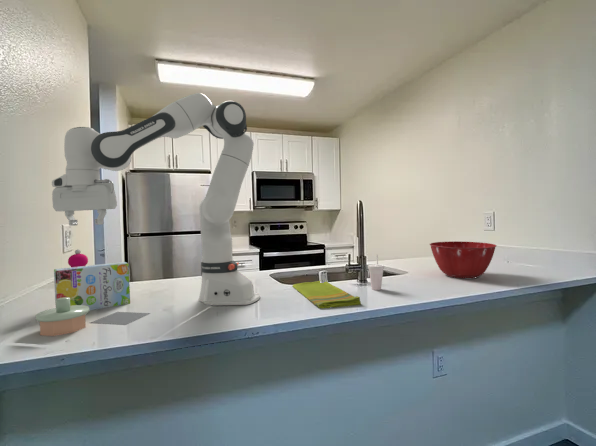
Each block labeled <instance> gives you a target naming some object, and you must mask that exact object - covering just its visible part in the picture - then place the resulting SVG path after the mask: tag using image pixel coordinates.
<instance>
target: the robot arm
mask: <svg viewBox="0 0 596 446" xmlns="http://www.w3.org/2000/svg"><path fill="white" fill-rule="evenodd" d="M201 127H203V128H204V129H205V130H206V131H208V132H209V133H210V135H212V136H213V137H215V138H216V139H222V140H223V148H222V151H221V153H220V156H219V158H218V161H217V163H216V165H215V169H214V171H213V174H212V176H211V180H210V183H209V185H208V189H207V191H206V194H205V197H204V198H203V200H202V201H201V202H200V204H199V224H200V239H201V262H200V274H201V275H200V276H201V283H200V284H201V285H200V292H199V297H198V302H202V303H203V305H208V306H209V305H211V306H247V305H251V304H254V303H255V302H257V301H258V300H260V298H261V294H260V293H257V292H255V288H254V283H253V282H252V280H251V279H250V278H249V277H247V276H246V275H244V274H243V273H241V271H239V270H238V267H239V264H240V262H236V261H234V258H233V257H234V256H233V238H232V233H231V230H232V229H231V223H230V220H231V218H232V217H233V215H234V212H235V209H236V205H237V202H238V199H239V196H240V191H241V189H242V185H243V182H244V179H245V176H246V174H247V171H248V168H249V166H250V163H251V159H252V156H253V150H254V145H255V143H254V140H253V139H252V138H251V136H250V135H249V134H247V133H246V132H247V131H248V125H247V114H246V110H245V109H244V107H243V105H242V104H241V103H239V102H237V101H233V100H225V101H224V102H221V103H220V104H219V105H215V104H213V103H212V102H211V100H210V99H209V98H208V97H207V96H206V95H205V94H203V93H201V92H197V93H193V94H189V95H187V96H185V97H181V98H179V99H176V100H175V101H173V102H171V103H169V104H167V105H166V106H164V107H163V108H161V109H160V110H159V111H158V112H156V113H155V114H153V115H152V116H150V117H148V118H146V119H144V120H142V121H139V122H138V123H136V124H134V125H132V126H129V127H128V128H125V129H122V130H118V131H117V130H116V131H106V132H102V133H100V132H98V131H96V130H95V129H94V128H92V127H89V126H76V127H73V128H70V129H69V130H67V131H66V133H65V134H64V146H63V147H64V158H65V161H66V167H65V174H62V175H61V176H59V177H57V178H54V179H53V180H51V185H52V188H53V190H52V194H51V195H52V197H51V198H52V207H53V209H54V211H55V212H64V216H65V217H66V219H67V220H68V225H69V226H70V227H71V226H75V227H76V226H78V219H76V218H75V216H74V215H75V212H80V211H96V213H97V214H98V216H97V218H95V219H94V221H95V222H94V224H95V225H96V226H98V225H99V226H100V225H104V223H105V222H104V218H105V217H106V215H107V210H115V209H116V208H117V206H118V201H117V196H116V191H115V185H114V182H113V181H111V180H110V179H108V178H105V179H104V178H103V179H101V175H100V173H101V172H100V169H103V170H108V171H111V172H112V171H113V172H120V171H123V170H125V169H127V168H128V167H129V166H130V165H131V163H132V154H133V153H134V152H135V151H137V150H138V149H141V148H142V147H144V146H146V145H148V144H150V143H151V142H153V141H156V140H157V139H161V138H169V139H178V138H181V137H184V136H186V135H188V134H189V135H190V134H191V133H192V132H193V131H195V130H197V129H198V128H201Z"/></svg>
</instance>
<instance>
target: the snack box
mask: <svg viewBox="0 0 596 446" xmlns="http://www.w3.org/2000/svg"><path fill="white" fill-rule="evenodd" d="M129 266H130V265H129V262H126V261H123V262H121V261H119V262H112V263H101V264H89V265H86V266H80V267H71V266H70V267H63V268H62V267H61V268H54V269H53V278H54V279H53V280H54V300H55V306H56V299H58V298H63V297H70V306H72V305H85V306H88V307H89V311H93V310H98V309H105V308H111V307H115V306H116V307H117V306H123V305H129V304H131V291H130V290H131V287H130V267H129Z"/></svg>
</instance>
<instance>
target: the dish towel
mask: <svg viewBox="0 0 596 446" xmlns="http://www.w3.org/2000/svg"><path fill="white" fill-rule="evenodd" d="M320 281H321V280H317V281H316V280H315V281H310V282H309V281H307V282H306V281H305V282H301V283H299V282H298V283H294V284H292V285H291V286H292V288H293V289H294V290H295V291H297V292H299V294H300V295H302V296H303V297H304V298H305V299H306V300H308V301H310V302H311V303H312V304H313V305H314V306H315V305H316V307H317V308H318V309H319V308H321V309H329V308H330V307H333V308H342V307H350V306H351V307H352V306H360V305H362V302H361V298H360V297H361V296H357V295H356V296H354V295H352V294H351V293H349V292H347V291H345V290H343V289H341V288H339V287H337V286H335V285H333V284H332V283H330V282H328V281H327V280H325V281H326V282H324V283H320ZM330 309H331V308H330Z"/></svg>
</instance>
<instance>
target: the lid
mask: <svg viewBox="0 0 596 446" xmlns="http://www.w3.org/2000/svg"><path fill="white" fill-rule="evenodd" d="M89 313H90V310H89V307H88V306H85V305H72V306H70V297H63V298H58V299H56V305H55V307H52V308H49V309H45V310H42V311H40V312H38V313H36V314H35V321H36V322H39V323H40V322H53V321H61V320H67V319H72V318H76V317H80V316H82V315H85V316H86V315H87V314H89Z"/></svg>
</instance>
